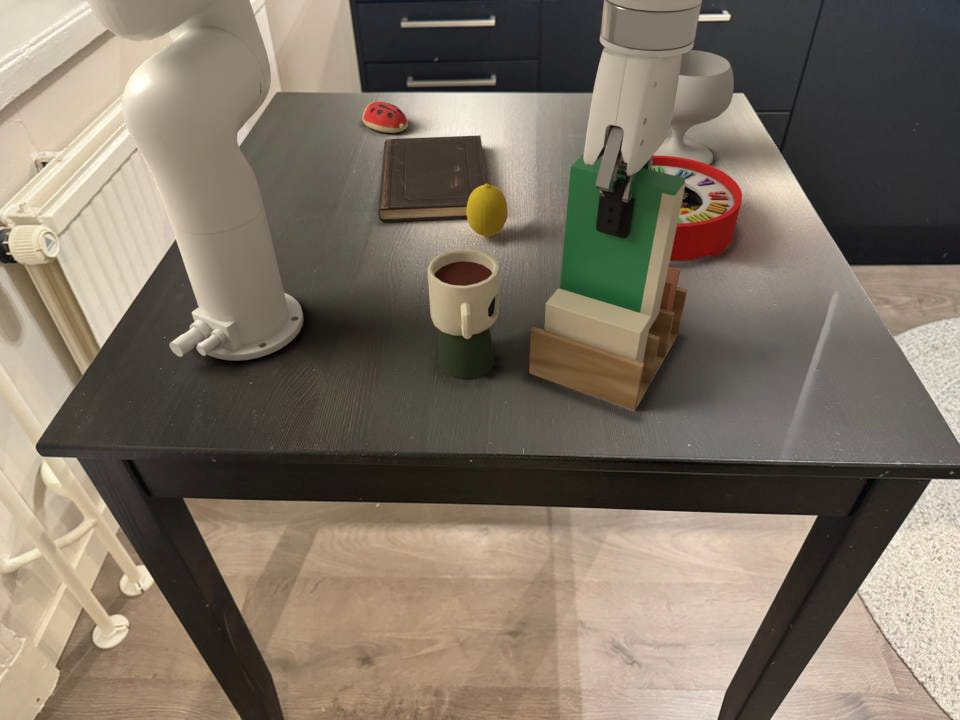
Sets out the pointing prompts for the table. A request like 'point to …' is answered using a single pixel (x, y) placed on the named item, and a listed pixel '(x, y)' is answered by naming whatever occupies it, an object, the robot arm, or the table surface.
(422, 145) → the hardcover book
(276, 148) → the table surface
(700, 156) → the chalice
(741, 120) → the table surface
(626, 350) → the cream book
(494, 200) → the lemon
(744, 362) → the table surface
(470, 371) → the character mug
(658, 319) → the book rack
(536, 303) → the table surface
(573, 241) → the green book
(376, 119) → the ladybug figurine
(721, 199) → the toy clock
